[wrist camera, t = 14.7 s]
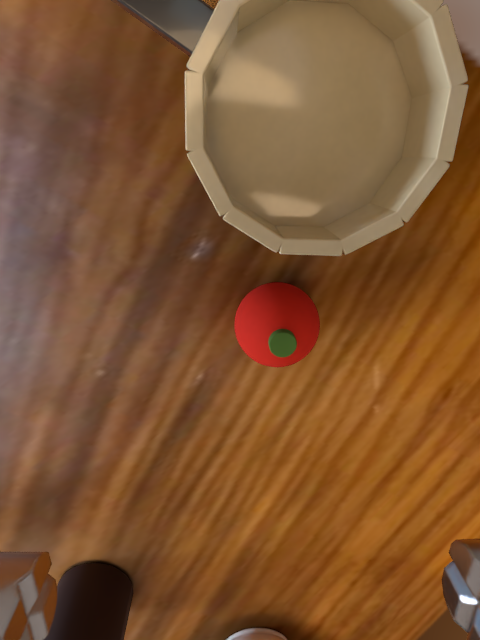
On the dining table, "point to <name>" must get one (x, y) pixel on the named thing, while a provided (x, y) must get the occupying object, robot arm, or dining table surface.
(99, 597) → the bottle
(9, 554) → the robot arm
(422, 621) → the dining table surface
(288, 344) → the tomato
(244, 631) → the lidded bowl
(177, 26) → the pan
